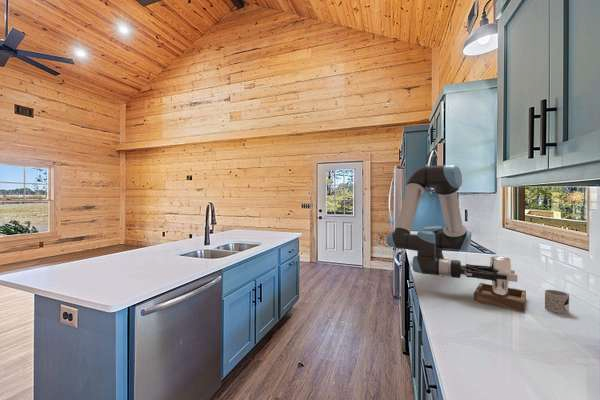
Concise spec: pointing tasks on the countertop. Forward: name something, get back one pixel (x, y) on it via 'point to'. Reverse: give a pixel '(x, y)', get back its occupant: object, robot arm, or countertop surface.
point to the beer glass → (501, 267)
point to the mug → (557, 301)
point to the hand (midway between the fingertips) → (515, 275)
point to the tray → (512, 302)
